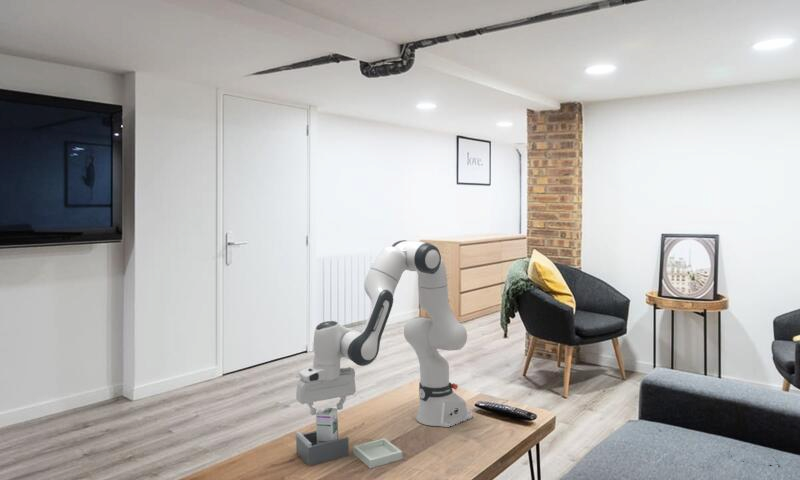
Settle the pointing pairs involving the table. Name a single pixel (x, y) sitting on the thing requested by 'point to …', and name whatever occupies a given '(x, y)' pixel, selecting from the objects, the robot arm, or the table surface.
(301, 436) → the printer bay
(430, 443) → the table surface
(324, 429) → the syrup box
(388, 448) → the tray
